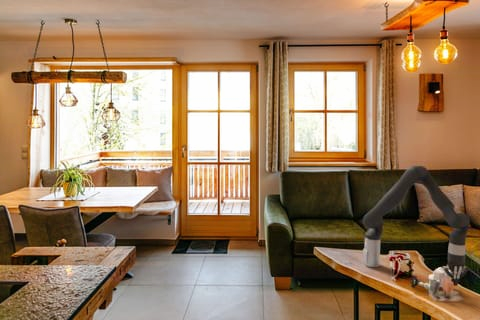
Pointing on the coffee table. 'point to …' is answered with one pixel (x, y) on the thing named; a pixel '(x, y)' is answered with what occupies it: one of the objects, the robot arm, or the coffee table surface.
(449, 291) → the carriage
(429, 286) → the valve
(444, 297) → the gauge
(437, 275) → the mechanical part
